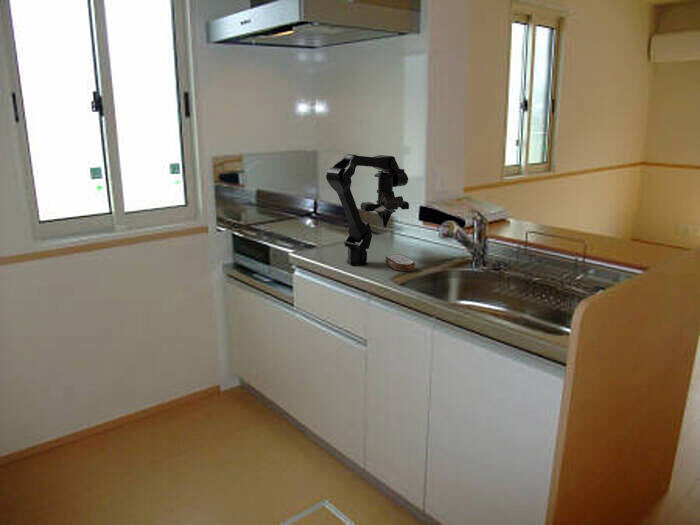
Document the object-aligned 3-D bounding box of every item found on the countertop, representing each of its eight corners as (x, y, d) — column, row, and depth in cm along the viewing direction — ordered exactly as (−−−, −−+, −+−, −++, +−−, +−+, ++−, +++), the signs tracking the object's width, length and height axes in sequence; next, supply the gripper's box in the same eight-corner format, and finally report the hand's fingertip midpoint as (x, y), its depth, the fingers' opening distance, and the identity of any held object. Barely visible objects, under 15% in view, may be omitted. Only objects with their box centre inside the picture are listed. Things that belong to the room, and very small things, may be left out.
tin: (401, 259, 214) (381, 262, 211) (401, 251, 213) (381, 255, 210) (419, 269, 200) (398, 273, 198) (419, 261, 199) (398, 265, 197)
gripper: (371, 192, 202) (370, 233, 206) (416, 189, 208) (414, 229, 212) (360, 188, 212) (359, 227, 216) (403, 186, 218) (402, 224, 222)
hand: (384, 227), depth 217 cm, fingers closed
